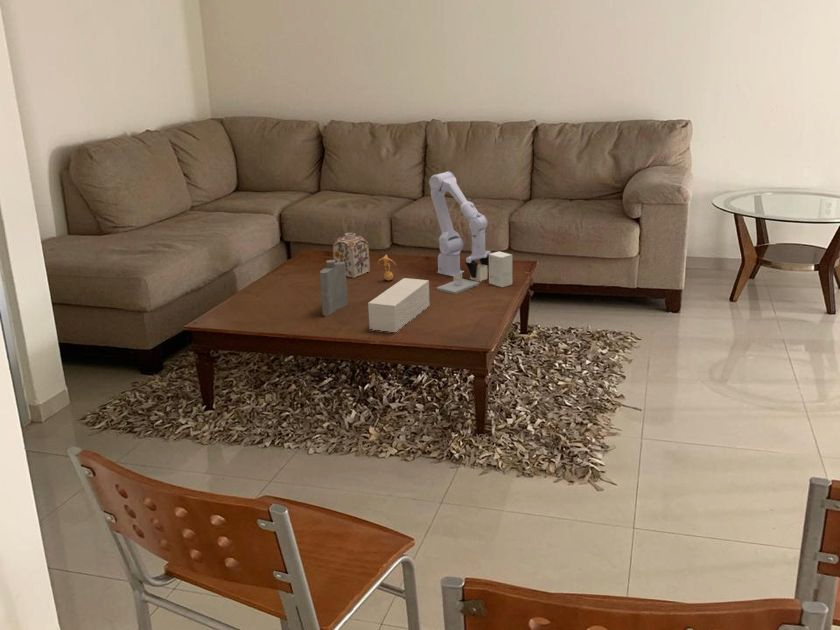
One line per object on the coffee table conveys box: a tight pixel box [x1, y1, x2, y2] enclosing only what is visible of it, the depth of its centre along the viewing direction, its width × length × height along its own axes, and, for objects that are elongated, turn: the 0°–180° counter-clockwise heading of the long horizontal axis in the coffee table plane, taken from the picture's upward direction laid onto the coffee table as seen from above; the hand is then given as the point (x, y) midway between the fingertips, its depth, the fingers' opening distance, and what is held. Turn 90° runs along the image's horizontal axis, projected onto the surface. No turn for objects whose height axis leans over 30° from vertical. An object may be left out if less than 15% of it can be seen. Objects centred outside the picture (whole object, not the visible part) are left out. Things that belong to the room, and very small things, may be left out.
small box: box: [488, 250, 513, 288], centre depth 370 cm, size 8×6×13 cm
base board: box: [436, 278, 480, 295], centre depth 370 cm, size 10×16×1 cm, turn 138°
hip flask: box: [319, 259, 349, 316], centre depth 345 cm, size 16×4×20 cm, turn 154°
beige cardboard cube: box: [469, 263, 488, 282], centre depth 379 cm, size 5×5×6 cm
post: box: [453, 272, 463, 286], centre depth 369 cm, size 3×3×5 cm
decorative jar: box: [332, 232, 371, 279], centre depth 391 cm, size 12×12×18 cm
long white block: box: [367, 277, 430, 333], centre depth 335 cm, size 32×11×11 cm, turn 157°
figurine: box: [377, 254, 397, 281], centre depth 379 cm, size 8×6×12 cm
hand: (478, 275), depth 379 cm, fingers open, 7 cm apart
